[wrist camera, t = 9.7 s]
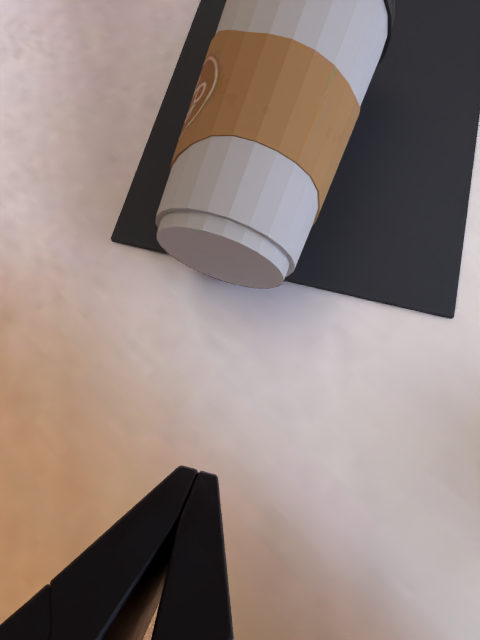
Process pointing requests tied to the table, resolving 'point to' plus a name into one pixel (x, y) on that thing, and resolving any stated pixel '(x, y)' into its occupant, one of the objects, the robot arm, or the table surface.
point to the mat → (365, 163)
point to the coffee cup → (268, 133)
